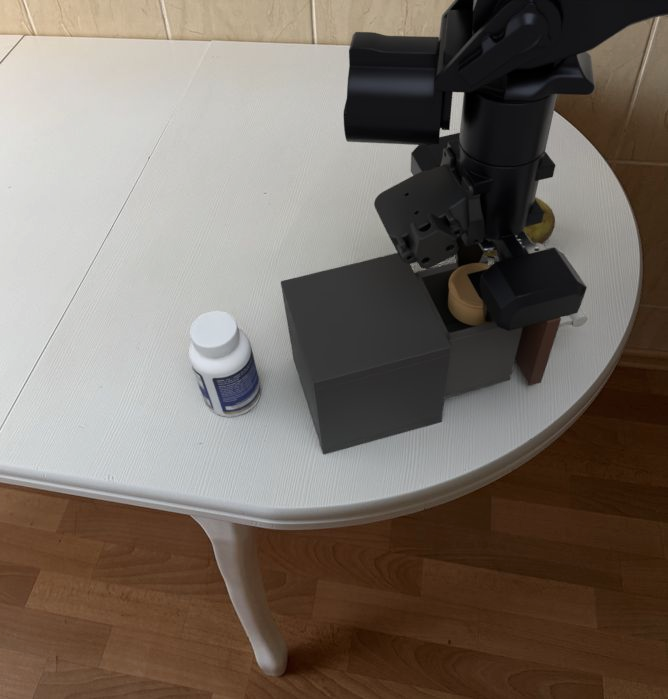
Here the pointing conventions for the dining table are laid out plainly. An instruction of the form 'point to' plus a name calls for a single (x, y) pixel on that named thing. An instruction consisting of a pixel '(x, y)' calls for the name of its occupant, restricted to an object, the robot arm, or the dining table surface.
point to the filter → (466, 295)
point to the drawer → (489, 340)
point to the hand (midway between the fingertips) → (477, 296)
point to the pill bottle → (223, 364)
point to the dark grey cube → (366, 351)
